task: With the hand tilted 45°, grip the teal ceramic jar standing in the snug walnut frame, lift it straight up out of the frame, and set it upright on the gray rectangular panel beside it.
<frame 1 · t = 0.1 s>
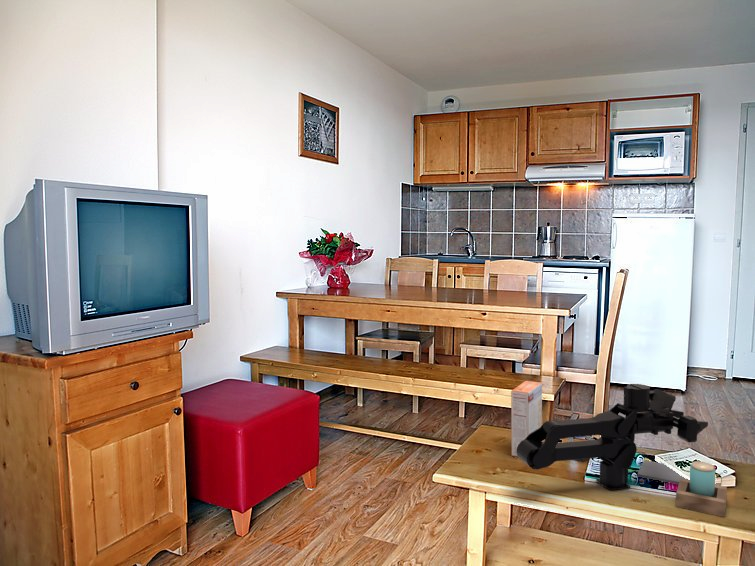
hand: (695, 418, 166), 17 cm above the table, tool horizontal, fingers open, 9 cm apart
teal jar: (702, 484, 150), in the walnut frame
gray rectangular panel: (679, 477, 167), on the table
walnut frame: (701, 503, 151), on the table
watch: (579, 458, 182), on the table
cracker box: (526, 451, 188), on the table
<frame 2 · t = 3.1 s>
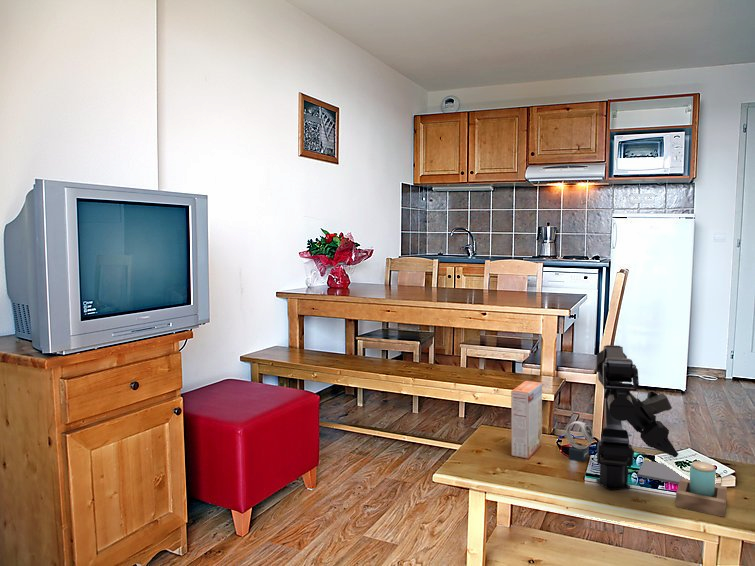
hand: (671, 449, 151), 14 cm above the table, tool tilted 45°, fingers open, 9 cm apart
nothing on the table moved.
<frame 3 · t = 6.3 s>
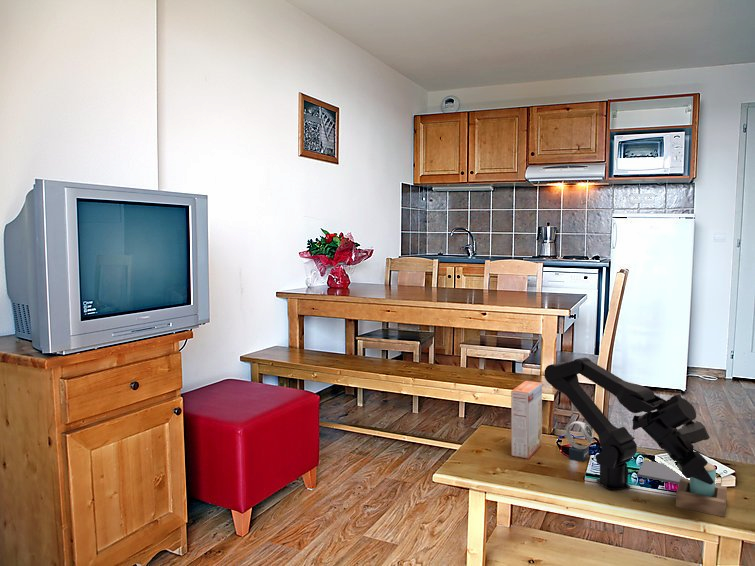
hand: (708, 478, 150), 7 cm above the table, tool tilted 45°, fingers closed on teal jar, 6 cm apart
teal jar: (702, 484, 150), in the walnut frame, touching gripper
everything else where it was.
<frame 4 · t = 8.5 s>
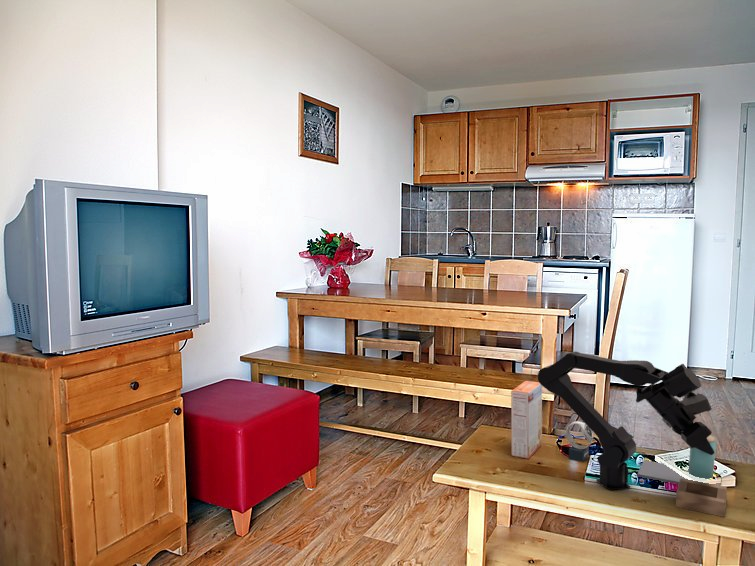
hand: (708, 449, 152), 13 cm above the table, tool tilted 45°, fingers closed on teal jar, 6 cm apart
teal jar: (702, 455, 152), point 12 cm above the table, touching gripper
everything else where it was.
when the fingers open (8 cm above the table, at t = 11.2 s): teal jar stays where it is, resting on gray rectangular panel.
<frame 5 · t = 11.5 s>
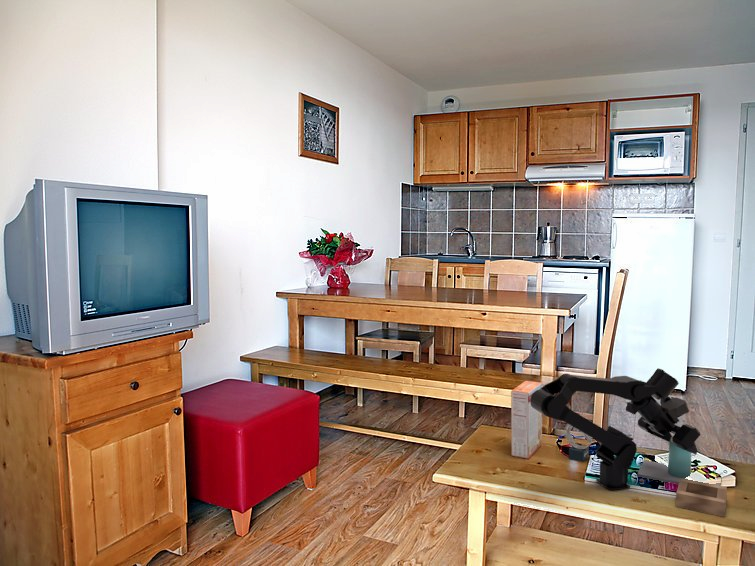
hand: (684, 447, 166), 9 cm above the table, tool tilted 45°, fingers open, 8 cm apart
teal jar: (679, 456, 166), on the gray rectangular panel, point 6 cm above the table
everything else where it was.
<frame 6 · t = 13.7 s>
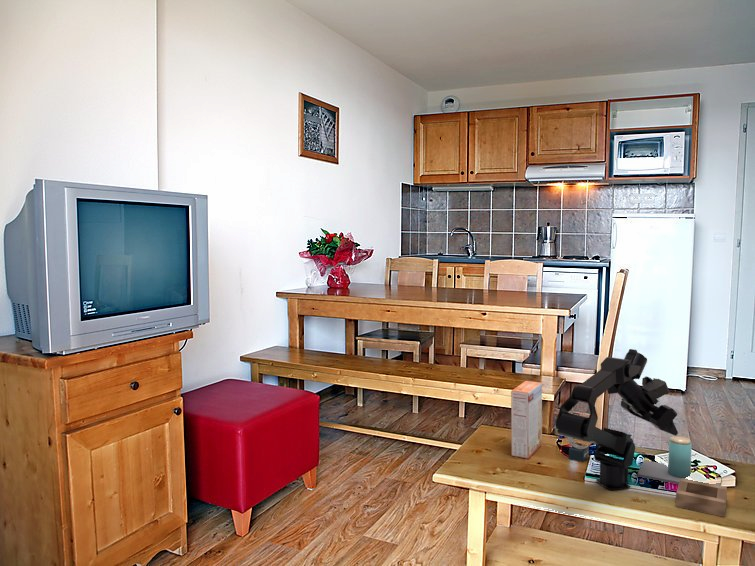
hand: (666, 428, 166), 14 cm above the table, tool tilted 45°, fingers open, 9 cm apart
nothing on the table moved.
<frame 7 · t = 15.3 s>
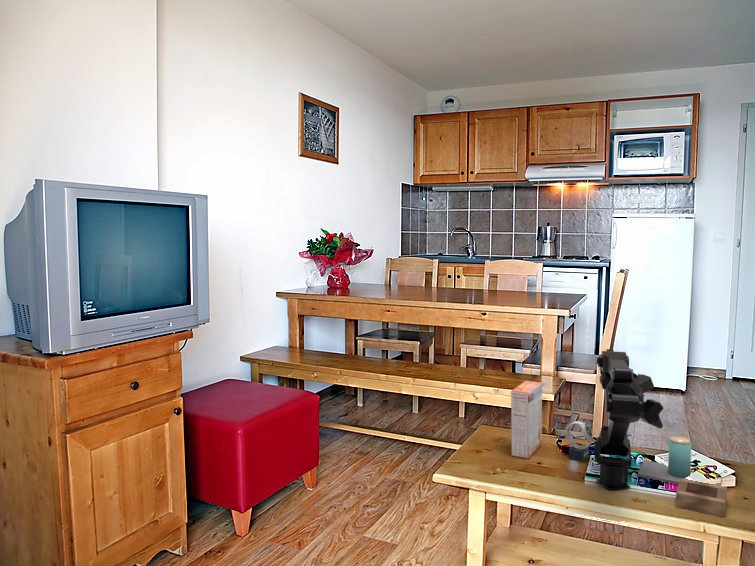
hand: (650, 422, 172), 14 cm above the table, tool tilted 45°, fingers open, 9 cm apart
nothing on the table moved.
at the end: teal jar inside the target area on the gray rectangular panel (0.1 cm from its centre), point 6.0 cm above the gray rectangular panel's base; teal jar tilted 1°; the gripper is holding nothing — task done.
